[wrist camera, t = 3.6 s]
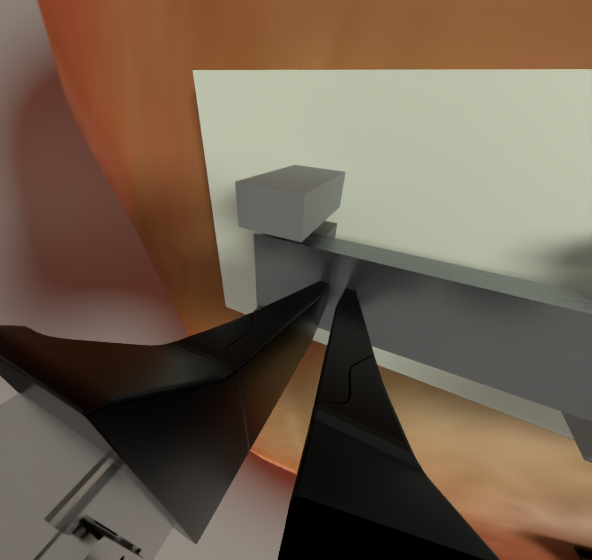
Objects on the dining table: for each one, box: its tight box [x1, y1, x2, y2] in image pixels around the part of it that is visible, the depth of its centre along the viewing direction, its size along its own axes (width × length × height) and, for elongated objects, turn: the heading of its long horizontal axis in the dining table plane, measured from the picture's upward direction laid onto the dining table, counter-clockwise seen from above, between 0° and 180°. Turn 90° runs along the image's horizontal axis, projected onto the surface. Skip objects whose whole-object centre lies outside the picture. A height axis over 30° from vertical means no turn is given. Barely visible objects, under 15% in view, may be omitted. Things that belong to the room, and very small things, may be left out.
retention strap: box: [254, 231, 592, 422], centre depth 8 cm, size 15×5×1 cm, turn 85°
